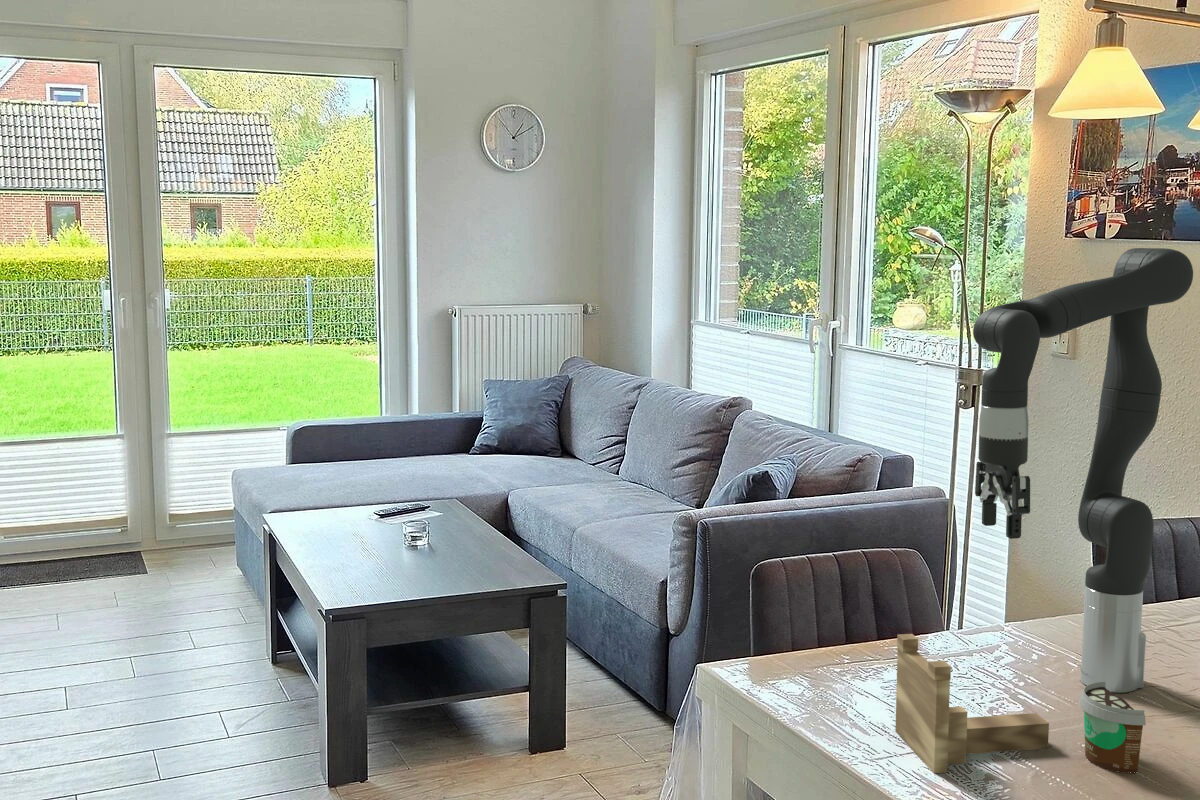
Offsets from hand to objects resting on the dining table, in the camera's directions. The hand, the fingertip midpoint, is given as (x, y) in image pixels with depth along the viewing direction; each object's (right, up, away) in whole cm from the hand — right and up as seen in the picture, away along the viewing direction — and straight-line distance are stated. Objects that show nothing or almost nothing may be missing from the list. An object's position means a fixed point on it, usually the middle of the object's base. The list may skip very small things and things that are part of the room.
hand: (1000, 531), depth 196 cm
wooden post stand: (-15, -32, -13) cm, 37 cm away
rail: (-6, -32, -11) cm, 34 cm away
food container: (+9, -33, -16) cm, 38 cm away
